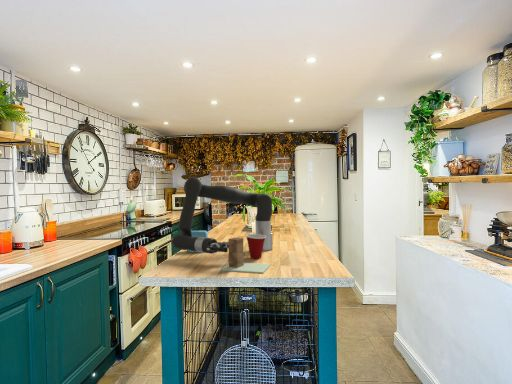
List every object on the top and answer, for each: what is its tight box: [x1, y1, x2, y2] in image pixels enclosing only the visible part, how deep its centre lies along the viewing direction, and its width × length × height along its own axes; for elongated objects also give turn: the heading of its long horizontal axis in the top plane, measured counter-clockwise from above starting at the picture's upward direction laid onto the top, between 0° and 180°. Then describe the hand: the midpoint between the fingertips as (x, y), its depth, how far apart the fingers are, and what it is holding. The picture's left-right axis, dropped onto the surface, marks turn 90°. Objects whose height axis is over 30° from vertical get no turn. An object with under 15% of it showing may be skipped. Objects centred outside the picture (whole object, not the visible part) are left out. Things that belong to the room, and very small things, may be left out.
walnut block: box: [227, 237, 245, 268], centre depth 151 cm, size 5×5×13 cm
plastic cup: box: [245, 233, 266, 260], centre depth 170 cm, size 11×11×12 cm
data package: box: [186, 230, 209, 253], centre depth 188 cm, size 12×4×12 cm, turn 86°
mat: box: [220, 262, 272, 274], centre depth 149 cm, size 20×14×1 cm
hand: (232, 248), depth 152 cm, fingers open, 8 cm apart
